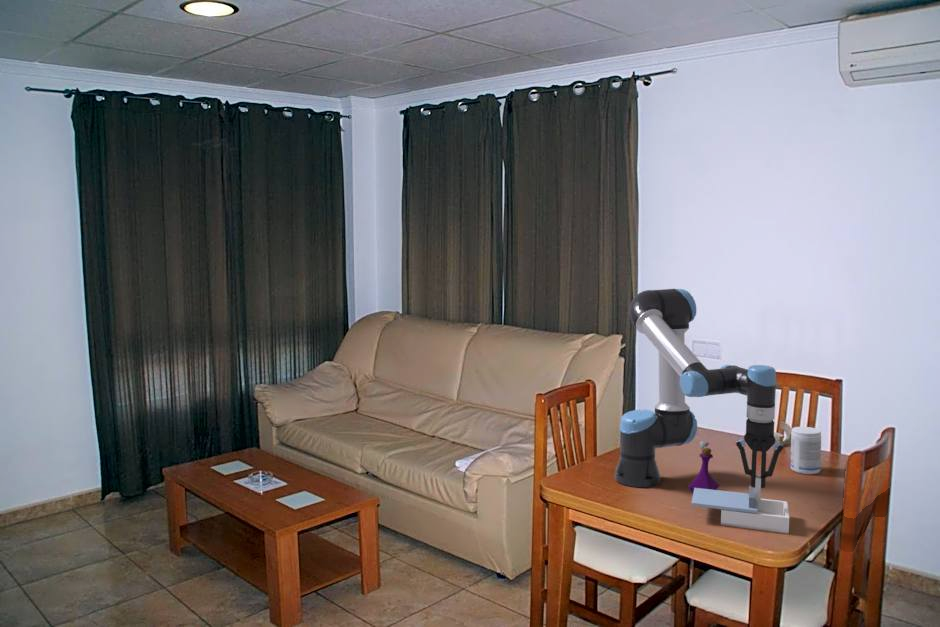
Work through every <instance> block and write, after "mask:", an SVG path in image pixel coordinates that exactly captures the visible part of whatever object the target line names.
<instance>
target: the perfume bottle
mask: <svg viewBox="0 0 940 627" xmlns="http://www.w3.org/2000/svg"><path fill="white" fill-rule="evenodd" d="M709 445H710V443H709V442H707V441H699V447H700V449H701V453H700V454H699V457H700V458H701V460H702V461H701V462H702V463H701V468H700V470H699V472H698V474H697V475H696V476H695V478H694V479H693V480H692V481H691V482H690V483H689V485H688V486H687V488H688V489H689V491H690V492H691V493H692V494H693V492H694V488H702V489H711V490H718V488H719V487H720V484H719V483H718V482H716V480H715V479H714V478H713V477H712V476H711V474H710V472H709V462H710V460H711V459H712V458H713V457H714V455H713V454H711V453H712V449H711V448H709V447H708V446H709Z"/></svg>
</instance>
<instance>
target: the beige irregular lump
mask: <svg viewBox="0 0 940 627" xmlns="http://www.w3.org/2000/svg"><path fill="white" fill-rule="evenodd" d="M779 426H780V428H781V430H782V431H783V432H785V435H786V438H785V435H784V434H781V433H780V432H774V437H775V440H776V441H777V442H778V443H781V444H783V446H786V445H787V446H788V445H791V432H792V428H791V426H790V424H788V423H787V422H784V421H782V422H780V424H779ZM784 438H785V439H784ZM783 439H784V440H783ZM785 444H786V445H785Z"/></svg>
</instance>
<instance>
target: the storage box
mask: <svg viewBox="0 0 940 627" xmlns="http://www.w3.org/2000/svg"><path fill="white" fill-rule="evenodd" d="M788 505H789V504H788V501H785V500H777V499H769V498H761V497H760V500H757V510H758V511H757V513H751V512H742V511H734V510H726V509H720V511H721V512H720V526H726V527H734V528H742V529H751V530H758V531H764V532H765V531H767V532H773V533H783V534H789V533H790V513H789V506H788Z"/></svg>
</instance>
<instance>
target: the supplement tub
mask: <svg viewBox="0 0 940 627" xmlns="http://www.w3.org/2000/svg"><path fill="white" fill-rule="evenodd" d="M791 429H792V432H791V441H790V469H791V470H792V471H793V472H795V473H798V474H802V475H816V474H819V473H820V472H821V465H822V463H821V460H822V459H821V458H822V431H821V430H820V429H819V428H815V427H811V426H795V427H792V428H791Z"/></svg>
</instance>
